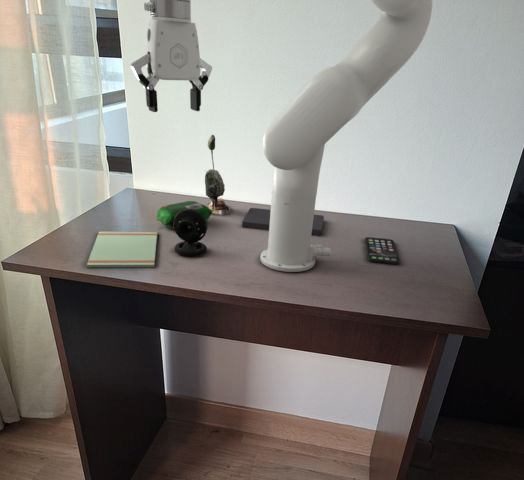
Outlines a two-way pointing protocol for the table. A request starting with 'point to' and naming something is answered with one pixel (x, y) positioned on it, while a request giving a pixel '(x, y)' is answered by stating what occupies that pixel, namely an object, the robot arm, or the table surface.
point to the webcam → (190, 232)
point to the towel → (124, 249)
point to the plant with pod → (215, 186)
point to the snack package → (170, 211)
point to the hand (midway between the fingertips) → (174, 110)
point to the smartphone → (381, 250)
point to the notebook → (262, 220)
